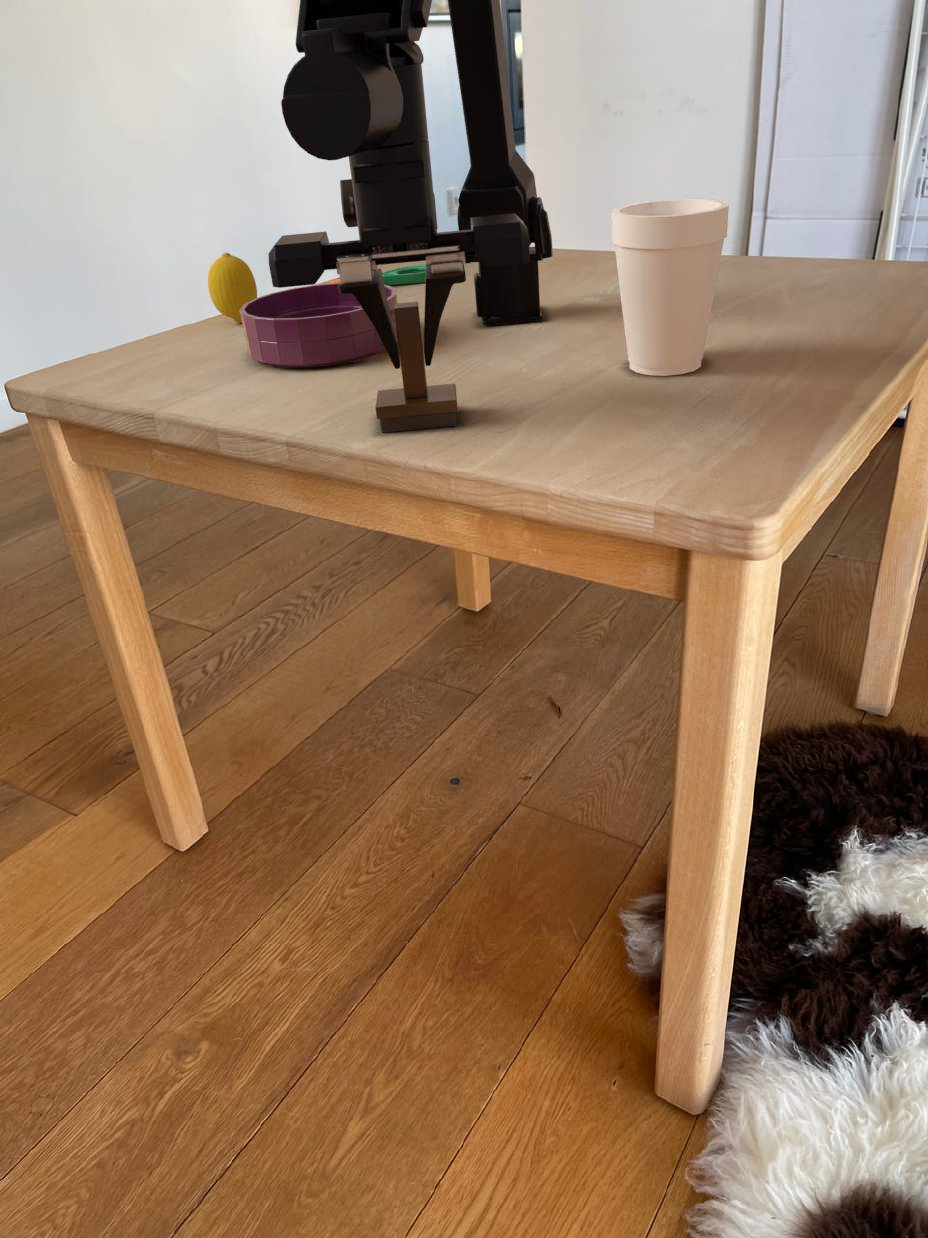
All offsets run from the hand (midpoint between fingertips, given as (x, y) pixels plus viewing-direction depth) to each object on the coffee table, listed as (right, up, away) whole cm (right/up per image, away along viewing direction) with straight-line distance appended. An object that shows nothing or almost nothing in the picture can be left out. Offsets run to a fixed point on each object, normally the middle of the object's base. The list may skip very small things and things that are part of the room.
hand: (413, 365), depth 73 cm
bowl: (-10, +9, +25) cm, 28 cm away
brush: (0, -4, +2) cm, 4 cm away
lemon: (-23, +16, +39) cm, 48 cm away
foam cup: (+22, +3, +10) cm, 24 cm away
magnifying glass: (-6, +25, +51) cm, 57 cm away
